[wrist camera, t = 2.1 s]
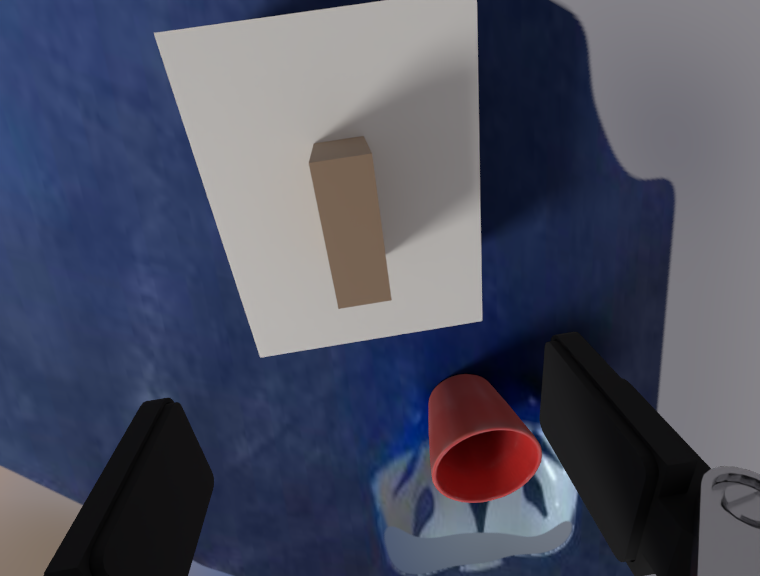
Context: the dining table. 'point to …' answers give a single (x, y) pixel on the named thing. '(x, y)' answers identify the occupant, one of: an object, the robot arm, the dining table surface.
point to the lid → (340, 165)
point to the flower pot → (478, 442)
